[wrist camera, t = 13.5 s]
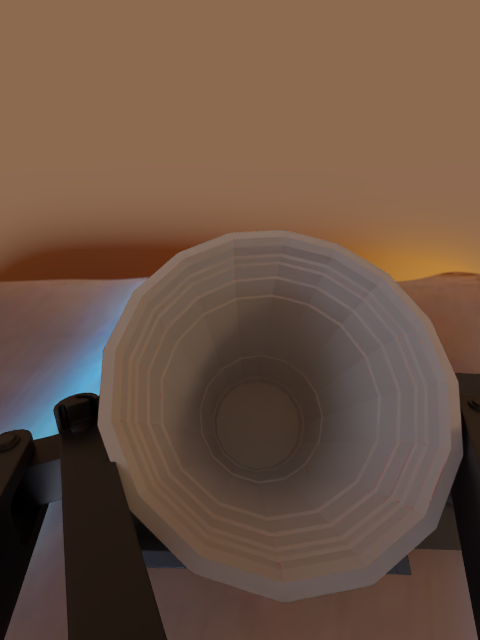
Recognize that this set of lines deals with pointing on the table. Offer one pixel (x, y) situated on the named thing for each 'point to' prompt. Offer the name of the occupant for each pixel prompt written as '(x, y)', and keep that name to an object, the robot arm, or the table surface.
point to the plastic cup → (280, 414)
